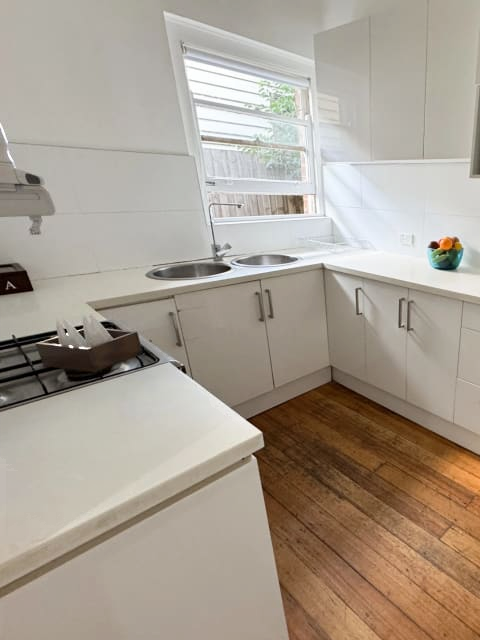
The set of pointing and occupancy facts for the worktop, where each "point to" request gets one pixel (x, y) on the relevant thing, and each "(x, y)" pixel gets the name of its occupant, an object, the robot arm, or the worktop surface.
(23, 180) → the robot arm
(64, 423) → the worktop surface
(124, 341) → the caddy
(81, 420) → the worktop surface
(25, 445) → the worktop surface
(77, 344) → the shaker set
